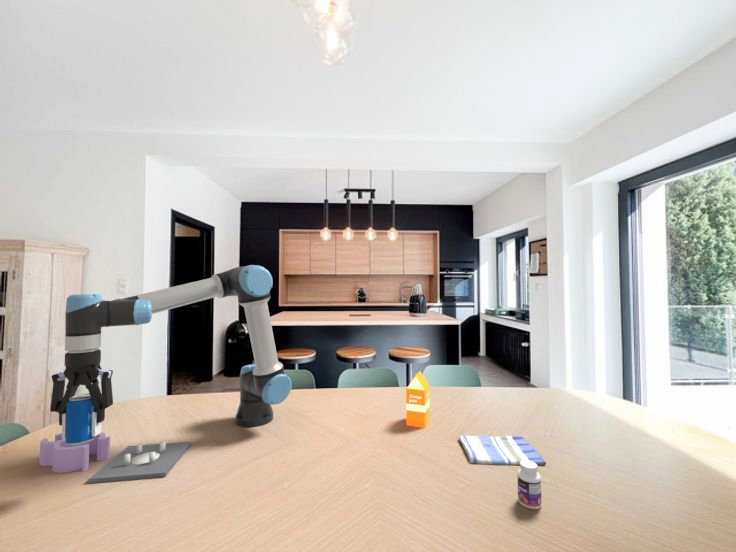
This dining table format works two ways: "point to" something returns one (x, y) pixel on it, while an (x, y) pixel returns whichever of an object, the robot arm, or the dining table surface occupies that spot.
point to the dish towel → (499, 450)
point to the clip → (72, 453)
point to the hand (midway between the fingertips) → (82, 435)
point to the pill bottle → (529, 485)
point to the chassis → (141, 462)
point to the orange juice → (417, 401)
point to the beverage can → (79, 419)
